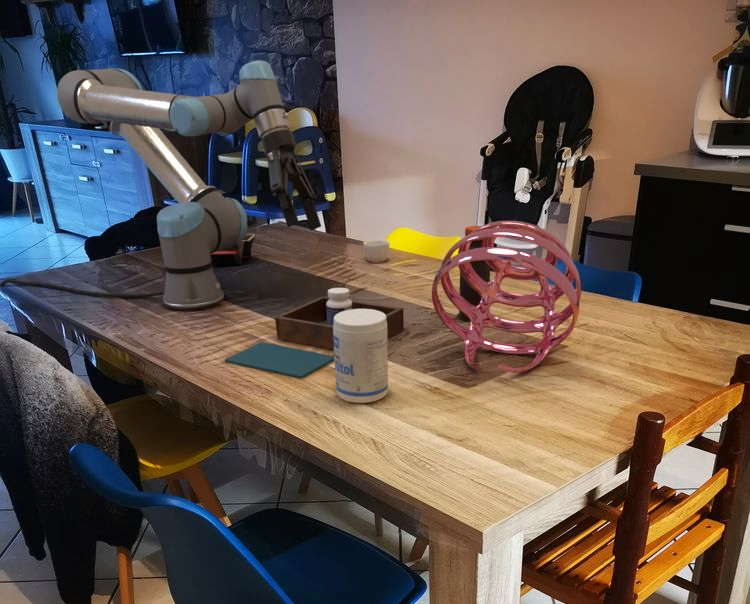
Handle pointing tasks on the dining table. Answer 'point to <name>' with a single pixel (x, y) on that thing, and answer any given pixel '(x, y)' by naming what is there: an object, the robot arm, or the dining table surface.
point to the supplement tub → (361, 355)
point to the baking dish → (233, 252)
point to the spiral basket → (492, 293)
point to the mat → (281, 359)
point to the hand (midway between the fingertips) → (305, 226)
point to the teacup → (376, 250)
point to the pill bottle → (337, 303)
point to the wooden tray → (307, 331)
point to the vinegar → (480, 269)
